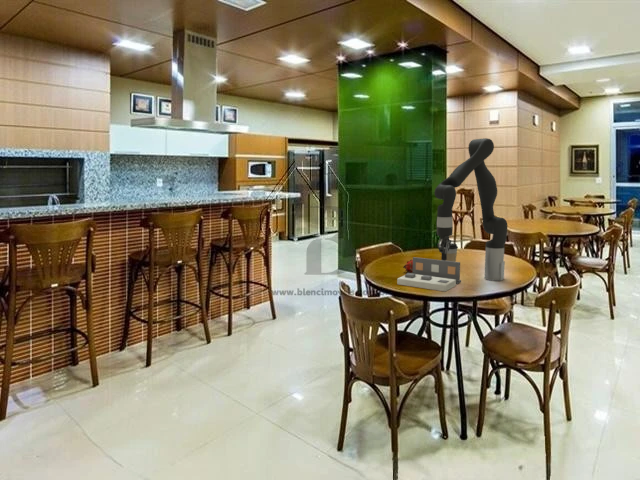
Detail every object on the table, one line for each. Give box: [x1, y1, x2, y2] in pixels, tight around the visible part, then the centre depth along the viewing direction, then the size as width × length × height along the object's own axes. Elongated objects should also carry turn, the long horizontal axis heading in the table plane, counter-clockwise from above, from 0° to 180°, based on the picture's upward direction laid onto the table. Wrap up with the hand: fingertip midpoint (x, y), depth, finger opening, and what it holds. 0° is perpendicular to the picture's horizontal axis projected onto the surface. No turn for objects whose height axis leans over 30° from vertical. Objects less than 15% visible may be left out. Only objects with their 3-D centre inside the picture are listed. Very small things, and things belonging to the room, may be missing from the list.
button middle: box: [421, 275, 432, 281], centre depth 230 cm, size 4×4×3 cm
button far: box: [404, 272, 415, 278], centre depth 235 cm, size 4×4×3 cm
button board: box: [396, 274, 457, 292], centre depth 230 cm, size 26×14×3 cm, turn 54°
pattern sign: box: [412, 256, 462, 285], centre depth 239 cm, size 26×6×11 cm, turn 54°
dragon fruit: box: [402, 259, 413, 273], centre depth 257 cm, size 8×8×12 cm
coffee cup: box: [445, 242, 459, 262], centre depth 262 cm, size 9×9×15 cm
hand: (444, 260), depth 223 cm, fingers closed
